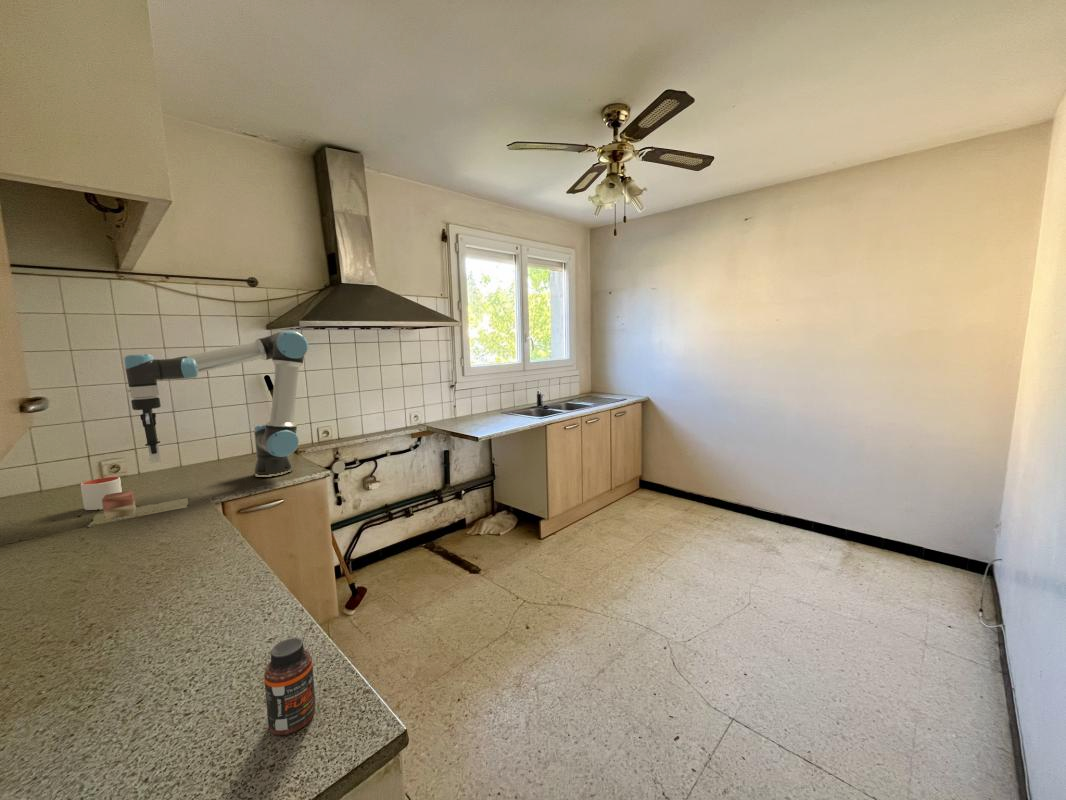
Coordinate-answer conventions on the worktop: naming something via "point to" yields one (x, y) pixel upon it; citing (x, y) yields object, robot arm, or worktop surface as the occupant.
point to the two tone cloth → (119, 504)
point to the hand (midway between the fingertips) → (155, 461)
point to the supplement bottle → (289, 687)
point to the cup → (99, 491)
